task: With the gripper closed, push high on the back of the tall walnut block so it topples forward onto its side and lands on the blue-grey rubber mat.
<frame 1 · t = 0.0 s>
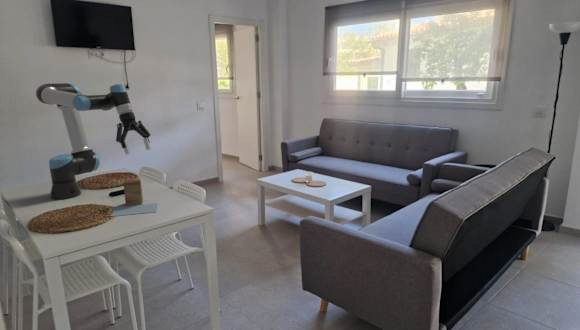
hand: (138, 151, 194), 28 cm above the table, tool tilted 20°, fingers open, 13 cm apart
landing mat: (132, 210, 186), on the table
walnut block: (134, 203, 196), on the table
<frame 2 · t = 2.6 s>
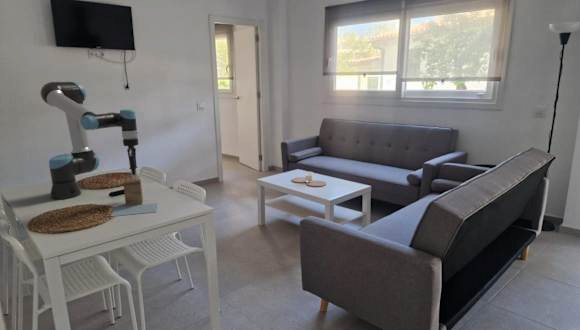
hand: (134, 179, 203), 11 cm above the table, tool pointing down, fingers closed
nothing on the table moved.
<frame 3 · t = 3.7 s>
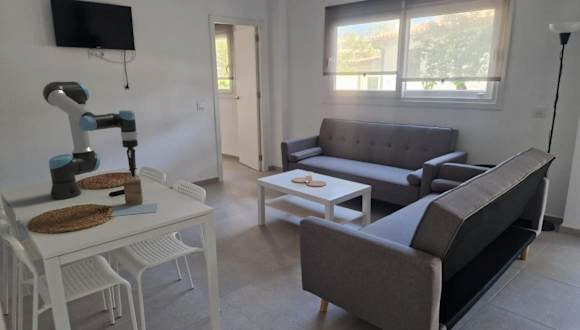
hand: (134, 181, 200), 11 cm above the table, tool pointing down, fingers closed
nothing on the table moved.
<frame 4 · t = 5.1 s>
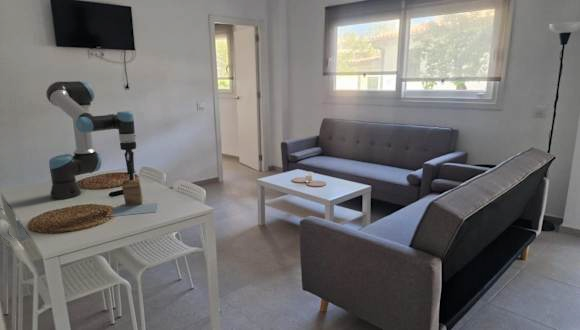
hand: (132, 185, 193), 10 cm above the table, tool pointing down, fingers closed
walnut block: (134, 202, 196), point 1 cm above the table, tilted 23°
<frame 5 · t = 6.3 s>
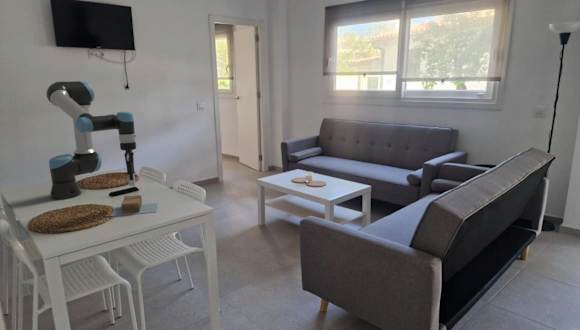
hand: (132, 185, 193), 10 cm above the table, tool pointing down, fingers closed
walnut block: (133, 200, 193), point 3 cm above the table, tilted 90°, touching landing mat
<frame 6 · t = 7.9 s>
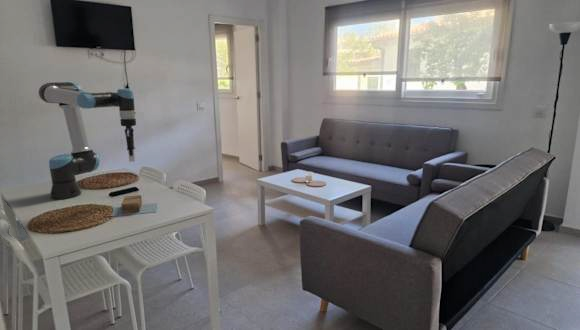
hand: (132, 161, 200), 22 cm above the table, tool pointing down, fingers closed
nothing on the table moved.
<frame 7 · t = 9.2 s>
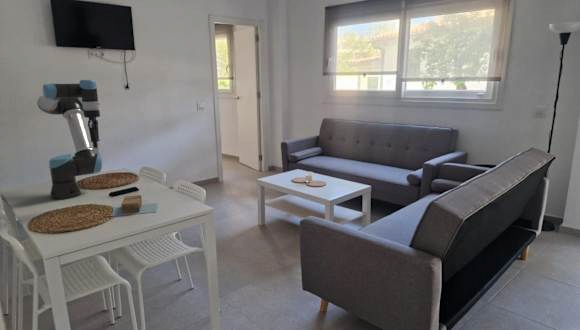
hand: (96, 153, 197), 26 cm above the table, tool pointing down, fingers closed
nothing on the table moved.
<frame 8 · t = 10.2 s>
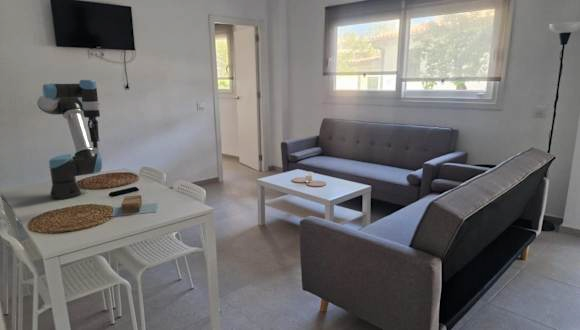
hand: (96, 153, 197), 26 cm above the table, tool pointing down, fingers closed
nothing on the table moved.
at the end: walnut block tilted 90°; walnut block touching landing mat; walnut block inside the target area (1.0 cm from its centre), point 2.7 cm above the table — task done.
